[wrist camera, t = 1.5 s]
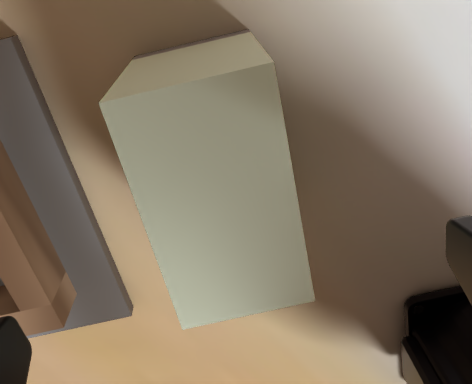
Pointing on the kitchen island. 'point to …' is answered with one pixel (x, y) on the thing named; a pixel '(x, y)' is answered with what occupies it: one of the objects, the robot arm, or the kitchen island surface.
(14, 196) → the socket
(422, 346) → the robot arm
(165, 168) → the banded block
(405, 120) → the kitchen island surface
